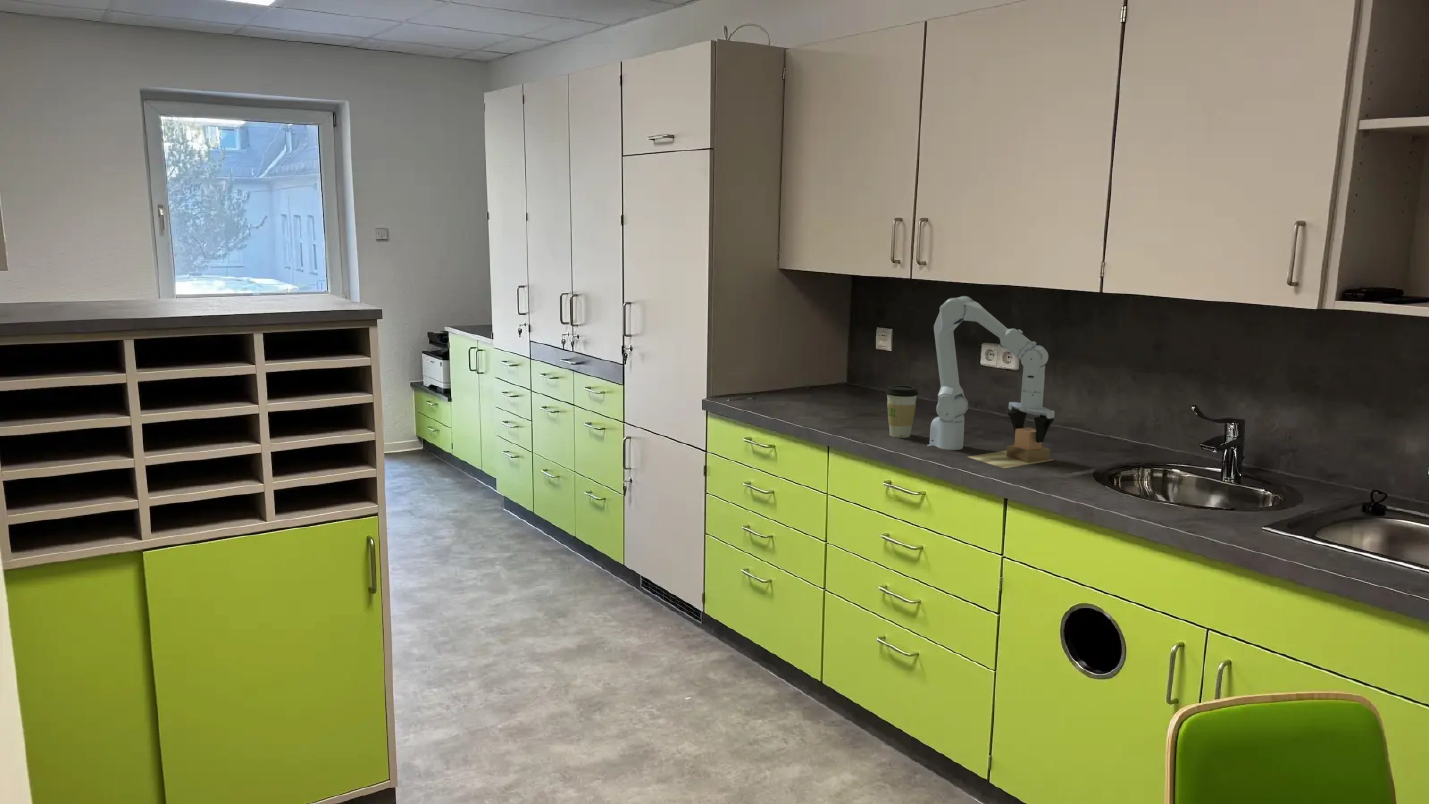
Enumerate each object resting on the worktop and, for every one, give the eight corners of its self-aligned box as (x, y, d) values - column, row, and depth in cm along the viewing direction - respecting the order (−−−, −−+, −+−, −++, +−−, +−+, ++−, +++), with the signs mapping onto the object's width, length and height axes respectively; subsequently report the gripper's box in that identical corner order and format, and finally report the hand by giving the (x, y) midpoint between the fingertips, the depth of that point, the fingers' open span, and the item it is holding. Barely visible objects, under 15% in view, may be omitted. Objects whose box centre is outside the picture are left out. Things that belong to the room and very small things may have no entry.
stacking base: (966, 459, 264) (967, 446, 263) (1015, 451, 273) (1016, 438, 272) (1004, 471, 252) (1005, 457, 251) (1054, 462, 261) (1055, 449, 260)
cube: (1014, 446, 263) (1015, 429, 262) (1027, 444, 266) (1028, 427, 265) (1028, 450, 259) (1029, 432, 258) (1041, 448, 261) (1042, 430, 260)
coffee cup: (890, 430, 300) (892, 383, 297) (920, 434, 295) (923, 386, 292) (879, 436, 291) (881, 388, 288) (909, 440, 286) (912, 391, 284)
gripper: (1002, 387, 264) (998, 435, 266) (1042, 396, 251) (1039, 446, 254) (1020, 385, 267) (1017, 432, 270) (1061, 394, 255) (1057, 443, 257)
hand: (1028, 439), depth 262 cm, fingers open, 7 cm apart
